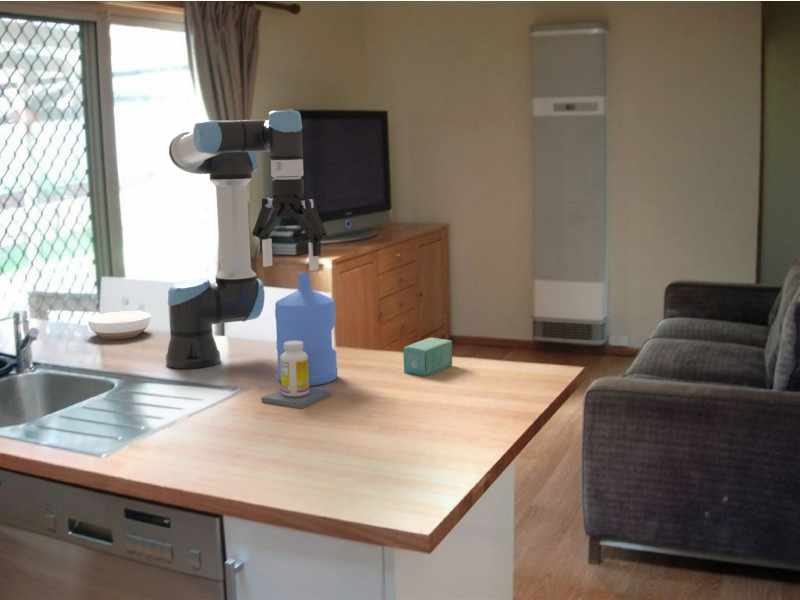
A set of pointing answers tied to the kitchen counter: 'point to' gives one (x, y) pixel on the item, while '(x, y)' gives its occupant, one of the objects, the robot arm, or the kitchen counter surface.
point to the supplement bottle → (294, 370)
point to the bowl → (119, 324)
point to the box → (427, 356)
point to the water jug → (308, 329)
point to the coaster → (296, 398)
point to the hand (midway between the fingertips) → (290, 268)
